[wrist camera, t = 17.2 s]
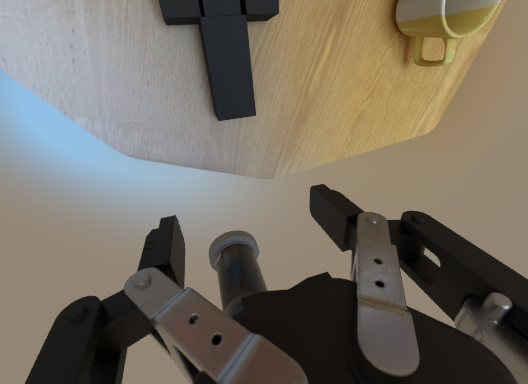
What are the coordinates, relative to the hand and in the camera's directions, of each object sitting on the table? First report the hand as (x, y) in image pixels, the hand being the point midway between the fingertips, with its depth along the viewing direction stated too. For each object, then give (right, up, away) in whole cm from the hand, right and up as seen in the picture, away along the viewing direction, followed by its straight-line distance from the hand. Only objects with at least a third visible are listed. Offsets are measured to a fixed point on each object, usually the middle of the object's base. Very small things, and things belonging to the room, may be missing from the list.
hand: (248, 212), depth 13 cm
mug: (+25, +31, +25) cm, 47 cm away
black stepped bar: (-5, +21, +20) cm, 29 cm away
